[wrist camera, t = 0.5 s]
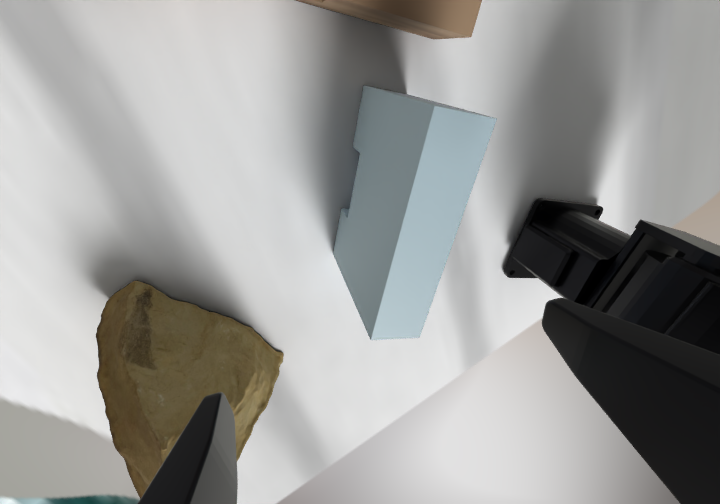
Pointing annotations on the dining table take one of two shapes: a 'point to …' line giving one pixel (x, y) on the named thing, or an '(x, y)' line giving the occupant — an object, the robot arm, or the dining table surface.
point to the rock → (174, 373)
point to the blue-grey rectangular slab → (405, 205)
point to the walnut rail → (412, 15)
